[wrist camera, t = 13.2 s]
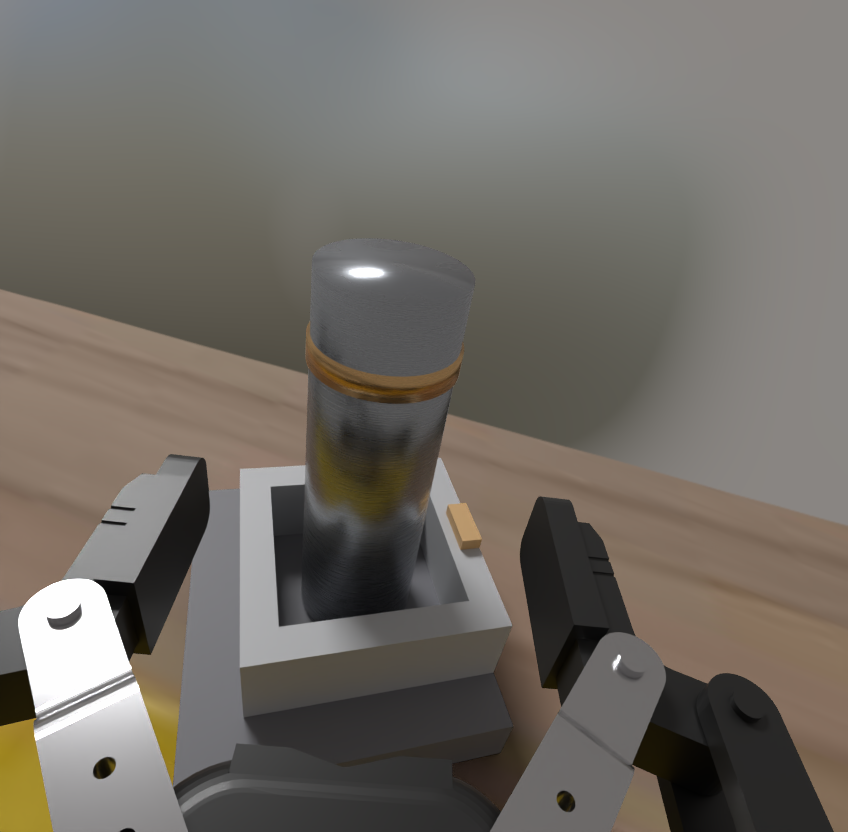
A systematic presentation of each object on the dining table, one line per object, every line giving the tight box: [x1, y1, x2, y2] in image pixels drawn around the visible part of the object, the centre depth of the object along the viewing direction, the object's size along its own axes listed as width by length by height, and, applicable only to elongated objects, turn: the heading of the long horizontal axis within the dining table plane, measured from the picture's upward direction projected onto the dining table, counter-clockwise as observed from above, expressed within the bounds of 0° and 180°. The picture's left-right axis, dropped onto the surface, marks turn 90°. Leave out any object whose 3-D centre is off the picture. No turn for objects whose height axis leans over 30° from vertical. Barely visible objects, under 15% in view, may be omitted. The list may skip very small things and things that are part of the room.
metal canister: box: [301, 238, 475, 622], centre depth 19 cm, size 5×5×14 cm
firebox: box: [173, 458, 513, 787], centre depth 22 cm, size 11×13×6 cm
